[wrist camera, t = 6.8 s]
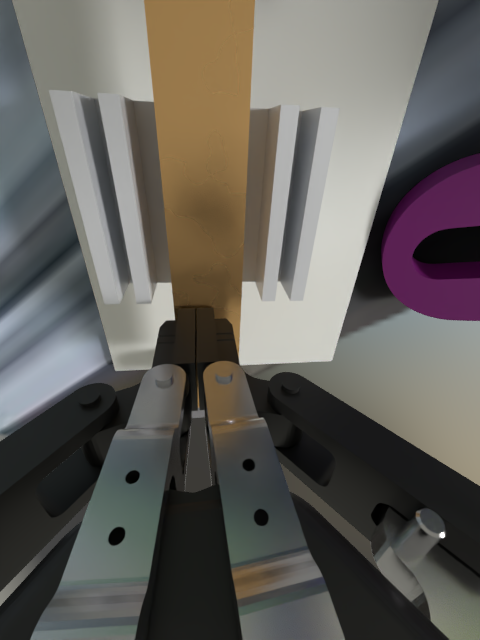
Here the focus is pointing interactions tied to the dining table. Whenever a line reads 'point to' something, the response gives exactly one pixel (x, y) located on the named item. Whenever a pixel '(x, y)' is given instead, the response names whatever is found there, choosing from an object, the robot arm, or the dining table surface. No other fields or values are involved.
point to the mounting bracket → (419, 222)
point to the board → (280, 75)
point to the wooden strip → (203, 144)
